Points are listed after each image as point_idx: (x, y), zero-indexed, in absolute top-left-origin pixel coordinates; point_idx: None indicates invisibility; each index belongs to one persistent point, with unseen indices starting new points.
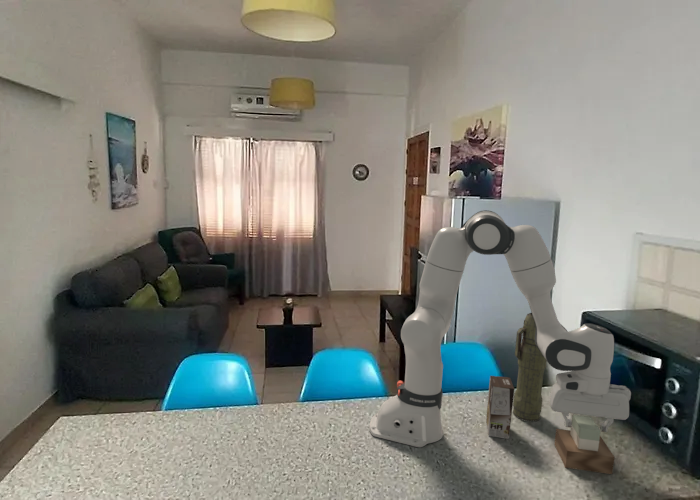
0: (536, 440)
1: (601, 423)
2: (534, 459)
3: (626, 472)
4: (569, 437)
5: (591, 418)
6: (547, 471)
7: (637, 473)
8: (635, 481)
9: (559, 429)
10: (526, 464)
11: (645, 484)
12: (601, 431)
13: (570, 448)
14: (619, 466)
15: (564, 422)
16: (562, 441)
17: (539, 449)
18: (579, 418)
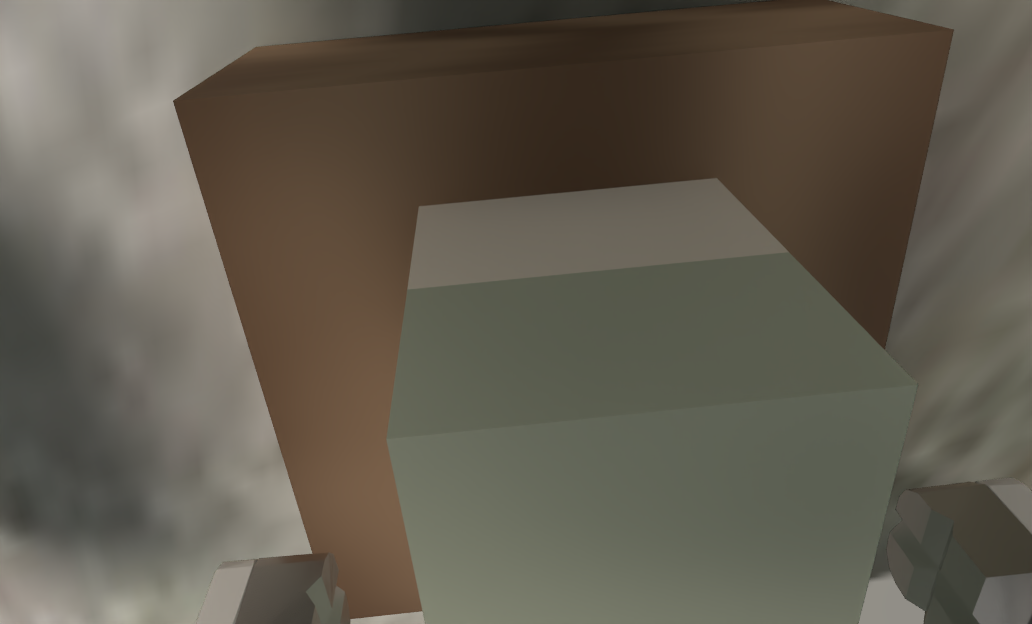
0: (5, 20)
1: (1006, 579)
2: (72, 445)
3: (913, 362)
4: (391, 333)
5: (876, 479)
6: (209, 563)
7: (1013, 344)
8: (913, 460)
9: (236, 114)
10: (21, 536)
11: (974, 471)
12: (888, 554)
13: (374, 574)
14: (902, 284)
15: (209, 591)
16: (285, 458)
17: (87, 246)
18: (539, 575)
